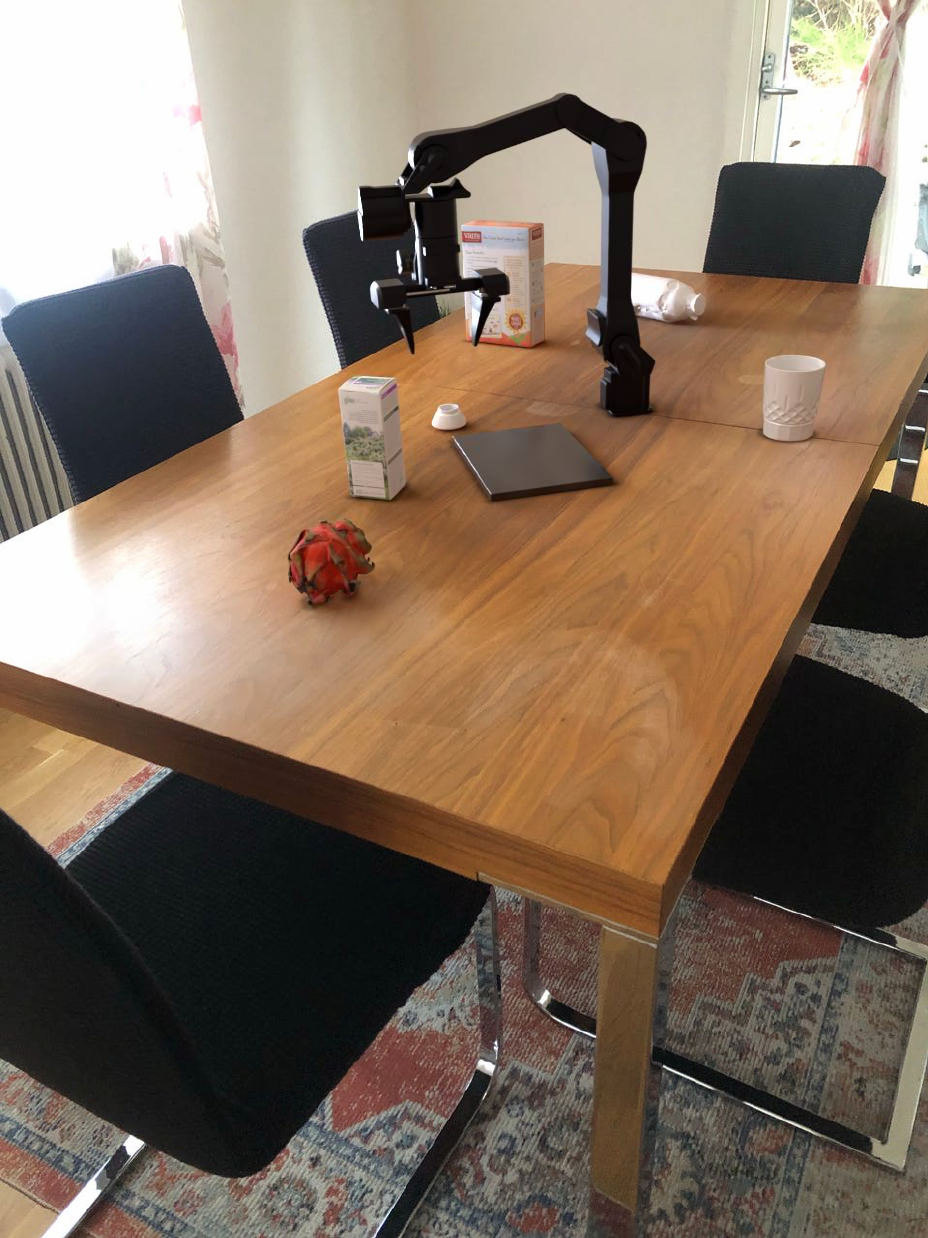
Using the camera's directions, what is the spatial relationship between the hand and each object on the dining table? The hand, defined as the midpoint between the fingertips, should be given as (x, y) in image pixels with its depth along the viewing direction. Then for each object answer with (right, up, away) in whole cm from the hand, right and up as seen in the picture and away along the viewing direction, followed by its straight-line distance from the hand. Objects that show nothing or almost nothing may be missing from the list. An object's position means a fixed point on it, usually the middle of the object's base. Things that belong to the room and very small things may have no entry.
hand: (443, 349), depth 148 cm
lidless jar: (+1, -10, +6) cm, 12 cm away
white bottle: (+41, +20, +54) cm, 71 cm away
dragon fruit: (-11, -36, -37) cm, 53 cm away
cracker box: (+11, +13, +45) cm, 49 cm away
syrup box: (-8, -22, -14) cm, 27 cm away
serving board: (+12, -17, -8) cm, 22 cm away
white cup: (+48, -13, -3) cm, 50 cm away
